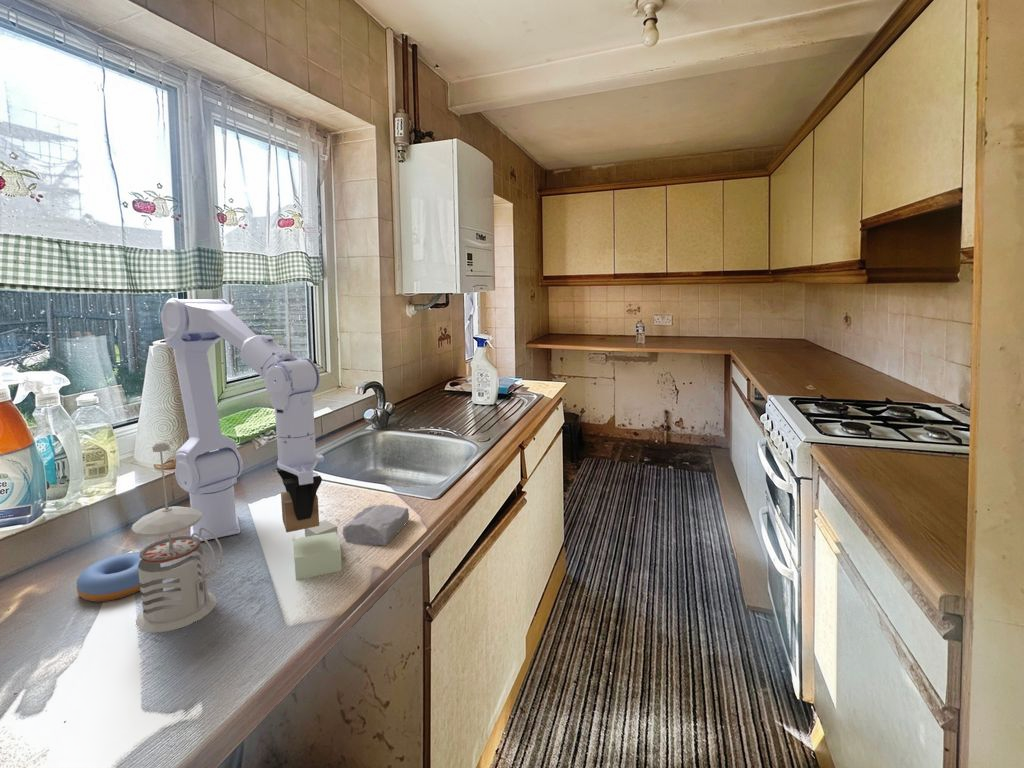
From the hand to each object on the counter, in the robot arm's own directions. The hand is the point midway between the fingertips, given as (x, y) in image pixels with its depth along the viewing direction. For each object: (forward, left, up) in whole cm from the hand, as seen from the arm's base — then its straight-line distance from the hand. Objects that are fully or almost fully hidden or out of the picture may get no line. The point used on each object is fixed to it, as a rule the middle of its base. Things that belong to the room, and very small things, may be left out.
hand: (300, 512), depth 83 cm
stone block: (-6, +14, -10) cm, 18 cm away
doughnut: (-7, -25, -10) cm, 28 cm away
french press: (+5, -17, -9) cm, 20 cm away
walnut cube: (0, 0, -2) cm, 2 cm away
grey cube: (-4, +4, -9) cm, 11 cm away
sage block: (+2, +2, -9) cm, 10 cm away
